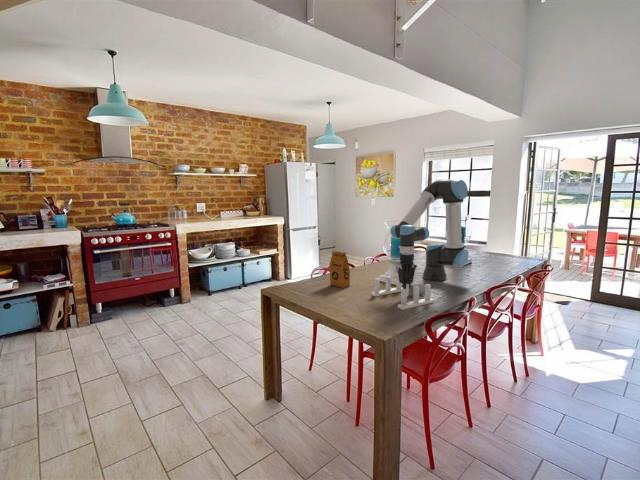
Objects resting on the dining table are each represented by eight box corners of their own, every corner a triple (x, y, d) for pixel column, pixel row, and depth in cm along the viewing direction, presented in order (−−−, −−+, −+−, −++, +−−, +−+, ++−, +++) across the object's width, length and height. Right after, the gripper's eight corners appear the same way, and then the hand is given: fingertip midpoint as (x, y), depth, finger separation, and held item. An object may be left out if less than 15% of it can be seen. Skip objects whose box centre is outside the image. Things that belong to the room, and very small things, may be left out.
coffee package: (341, 289, 199) (340, 254, 195) (327, 285, 208) (327, 251, 205) (352, 286, 205) (352, 251, 202) (339, 282, 214) (338, 249, 211)
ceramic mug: (405, 294, 187) (405, 281, 185) (417, 292, 189) (418, 279, 188) (416, 300, 177) (416, 286, 175) (429, 298, 179) (429, 285, 178)
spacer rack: (400, 289, 196) (400, 273, 195) (433, 302, 173) (434, 285, 171) (371, 294, 187) (371, 278, 186) (402, 309, 164) (402, 291, 162)
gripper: (402, 255, 172) (401, 298, 175) (420, 253, 177) (419, 295, 181) (392, 253, 178) (392, 295, 182) (411, 251, 184) (410, 291, 187)
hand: (405, 295), depth 181 cm, fingers closed
